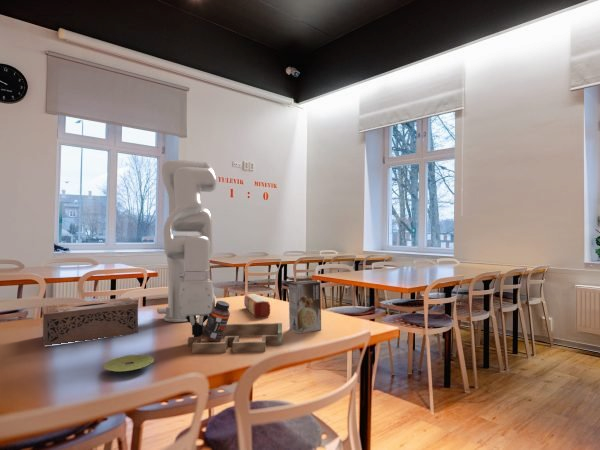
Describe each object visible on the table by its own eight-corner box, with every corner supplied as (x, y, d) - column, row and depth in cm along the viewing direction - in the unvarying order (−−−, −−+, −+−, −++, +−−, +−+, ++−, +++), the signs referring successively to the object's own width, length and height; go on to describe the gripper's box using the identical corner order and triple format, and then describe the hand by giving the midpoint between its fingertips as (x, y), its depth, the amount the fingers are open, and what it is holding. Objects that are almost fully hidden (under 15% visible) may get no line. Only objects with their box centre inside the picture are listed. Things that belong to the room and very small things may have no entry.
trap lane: (183, 353, 105) (183, 340, 105) (196, 335, 122) (196, 324, 122) (282, 350, 106) (282, 338, 106) (281, 333, 123) (281, 322, 123)
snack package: (243, 308, 164) (243, 292, 164) (258, 307, 166) (258, 291, 166) (254, 319, 144) (253, 301, 144) (271, 318, 146) (270, 300, 146)
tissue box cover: (44, 348, 111) (43, 314, 111) (42, 337, 123) (42, 306, 123) (138, 333, 126) (137, 303, 126) (128, 325, 138) (128, 297, 138)
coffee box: (312, 325, 133) (311, 279, 133) (321, 330, 127) (321, 282, 128) (288, 329, 129) (288, 281, 129) (297, 333, 123) (296, 284, 123)
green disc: (127, 359, 100) (127, 352, 100) (163, 364, 97) (163, 356, 97) (92, 376, 89) (92, 367, 89) (132, 381, 86) (132, 373, 86)
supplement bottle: (216, 344, 113) (227, 308, 112) (198, 336, 114) (210, 301, 114) (224, 338, 119) (235, 304, 118) (208, 331, 120) (218, 297, 119)
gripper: (168, 278, 112) (168, 341, 112) (219, 277, 112) (220, 340, 112) (176, 275, 120) (176, 334, 119) (223, 274, 120) (224, 333, 120)
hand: (197, 337), depth 116 cm, fingers closed
